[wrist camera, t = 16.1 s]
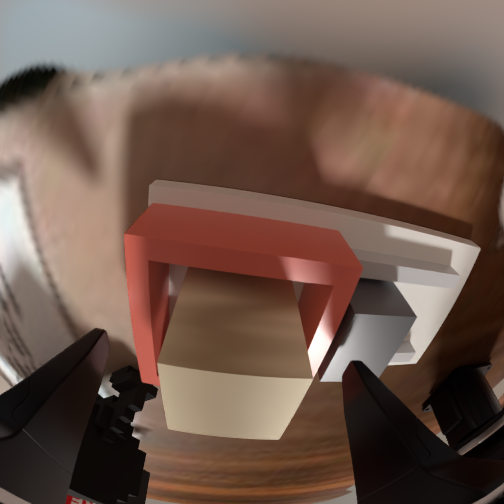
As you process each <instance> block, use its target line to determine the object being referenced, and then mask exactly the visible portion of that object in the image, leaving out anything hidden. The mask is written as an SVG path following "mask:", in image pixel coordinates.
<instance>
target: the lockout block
mask: <svg viewBox="0 0 504 504" xmlns="http://www.w3.org/2000/svg"><path fill="white" fill-rule="evenodd" d="M157 365H158V373H159V380H160V387H161V393H162V399H163V405H164V411H165V416H166V421H167V426H168V429H170V430H176V431H182V432H188V433H195V434H203V435H211V436H220V437H231V438H246V439H272V440H279V439H280V437H281V436H282V434H283V432H284V431H285V429H286V427H287V426H288V424H289V422H290V420H291V419H292V417H293V415H294V414H295V412H296V410H297V408H298V406H299V405H300V403H301V401H302V399H303V397H304V396H305V394H306V392H307V390H308V388H309V386H310V384H311V382H312V380H313V374H312V370H311V365H310V360H309V355H308V350H307V345H306V341H305V336H304V331H303V327H302V322H301V318H300V313H299V309H298V304H297V300H296V295H295V291H294V287H293V282H292V281H291V280H283V279H276V278H268V277H260V276H253V275H245V274H238V273H231V272H224V271H217V270H210V269H203V268H196V267H188V269H187V272H186V275H185V278H184V281H183V284H182V287H181V290H180V293H179V295H178V298H177V301H176V304H175V308H174V311H173V314H172V317H171V320H170V323H169V326H168V329H167V332H166V336H165V339H164V342H163V345H162V349H161V352H160V355H159V359H158V362H157Z"/></svg>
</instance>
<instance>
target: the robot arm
mask: <svg viewBox="0 0 504 504" xmlns="http://www.w3.org/2000/svg"><path fill="white" fill-rule="evenodd" d="M109 351H110V344H109V340H108V336H107V332H106V331H105V330H104V329H100V328H94V329H93V330H92V331H90V332H89V333H87V334H86V335H84V336H83V337H82V338H80V339H79V340H77V341H76V342H75V343H73V344H72V345H70V346H69V347H68V348H66V349H65V350H63V351H62V352H61V353H59V354H58V355H56V356H55V357H54V358H52V359H51V360H49V361H48V362H47V363H45V364H44V365H43V366H41V367H40V368H39V369H37V370H36V371H34V372H33V373H32V374H30V376H28V377H26V378H25V379H24V380H22V381H21V382H19V383H18V384H16V385H15V386H14V387H12V388H10V389H9V390H8V391H6V392H4V393H3V394H1V395H0V504H65V503H66V499H67V494H68V490H69V486H70V482H71V478H72V473H73V469H74V466H75V462H76V459H77V455H78V452H79V448H80V445H81V442H82V438H83V435H84V432H85V429H86V426H87V423H88V420H89V417H90V414H91V411H92V408H93V405H94V402H95V399H96V397H97V394H98V391H99V388H100V385H101V382H102V378H103V374H104V370H105V366H106V362H107V358H108V355H109ZM491 367H492V364H491V362H489V363H484V364H479V365H474V366H468V367H462V368H458V369H457V370H455V371H454V372H453V374H452V375H451V376H450V377H449V379H448V380H447V381H446V382H445V383H444V385H443V386H442V387H441V388H440V389H439V390H438V391H437V393H436V394H435V395H434V396H433V397H432V398H431V399H430V400H429V401H428V402H427V404H426V405H425V406H424V407H423V408H422V410H423V412H428V411H433V412H434V414H435V417H436V419H437V421H438V424H439V426H440V429H441V431H442V434H443V435H445V436H446V439H447V441H448V444H449V446H450V447H449V446H448V445H447V444H446V443H444V442H443V441H442V440H441V439H440V438H438V437H437V436H436V435H435V434H434V433H433V432H432V431H430V430H429V429H428V428H427V427H426V426H425V425H424V424H423V423H422V422H421V421H420V420H419V419H418V418H417V417H416V416H415V415H414V414H413V413H412V412H411V411H410V410H409V409H408V408H407V406H406V405H405V404H404V403H403V402H402V401H401V400H400V399H399V398H398V397H397V396H396V395H395V394H394V393H393V392H392V391H391V390H390V389H389V388H388V387H387V386H386V385H385V384H384V383H383V382H382V381H381V380H380V379H379V378H378V377H377V376H376V375H375V374H374V373H373V372H372V371H371V370H370V369H369V368H368V367H367V366H366V365H365V364H364V363H363V362H362V361H360V360H352V361H350V362H349V364H348V366H347V367H346V369H345V371H344V372H343V375H342V388H343V403H344V414H345V420H346V426H347V432H348V438H349V444H350V451H351V457H352V464H353V471H354V479H355V487H356V495H357V504H504V425H503V426H501V427H500V428H499V429H498V430H497V431H495V432H494V433H493V434H492V435H490V436H489V437H488V438H486V439H485V440H484V441H482V442H481V443H480V444H478V445H477V446H475V447H474V448H473V449H471V450H470V451H468V452H467V453H465V454H464V455H461V454H463V453H464V452H466V451H467V450H468V449H470V448H471V447H473V446H474V445H476V444H477V443H478V442H480V441H481V440H482V439H484V438H485V437H486V436H488V435H489V434H490V433H492V432H493V431H494V430H495V429H497V428H498V427H499V426H500V425H501V424H503V423H504V408H503V409H502V407H501V405H500V403H499V401H498V399H497V397H496V395H495V394H494V392H493V390H492V388H491V387H490V385H489V383H488V381H487V380H486V378H485V375H486V373H487V372H488V371H489V370H490V368H491ZM452 447H453V448H452Z"/></svg>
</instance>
